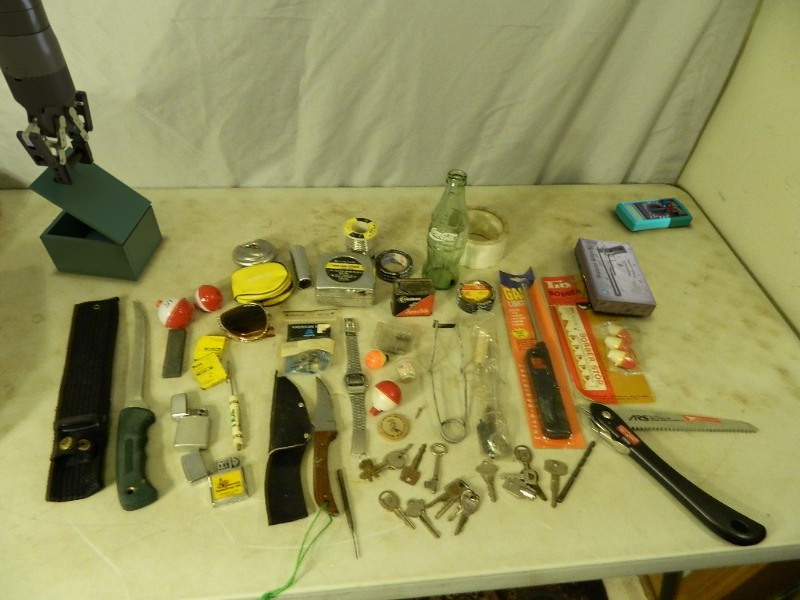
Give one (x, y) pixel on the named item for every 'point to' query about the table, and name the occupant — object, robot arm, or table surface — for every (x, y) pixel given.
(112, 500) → the table surface
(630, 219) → the digital multimeter
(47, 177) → the lid
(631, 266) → the box
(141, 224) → the case
